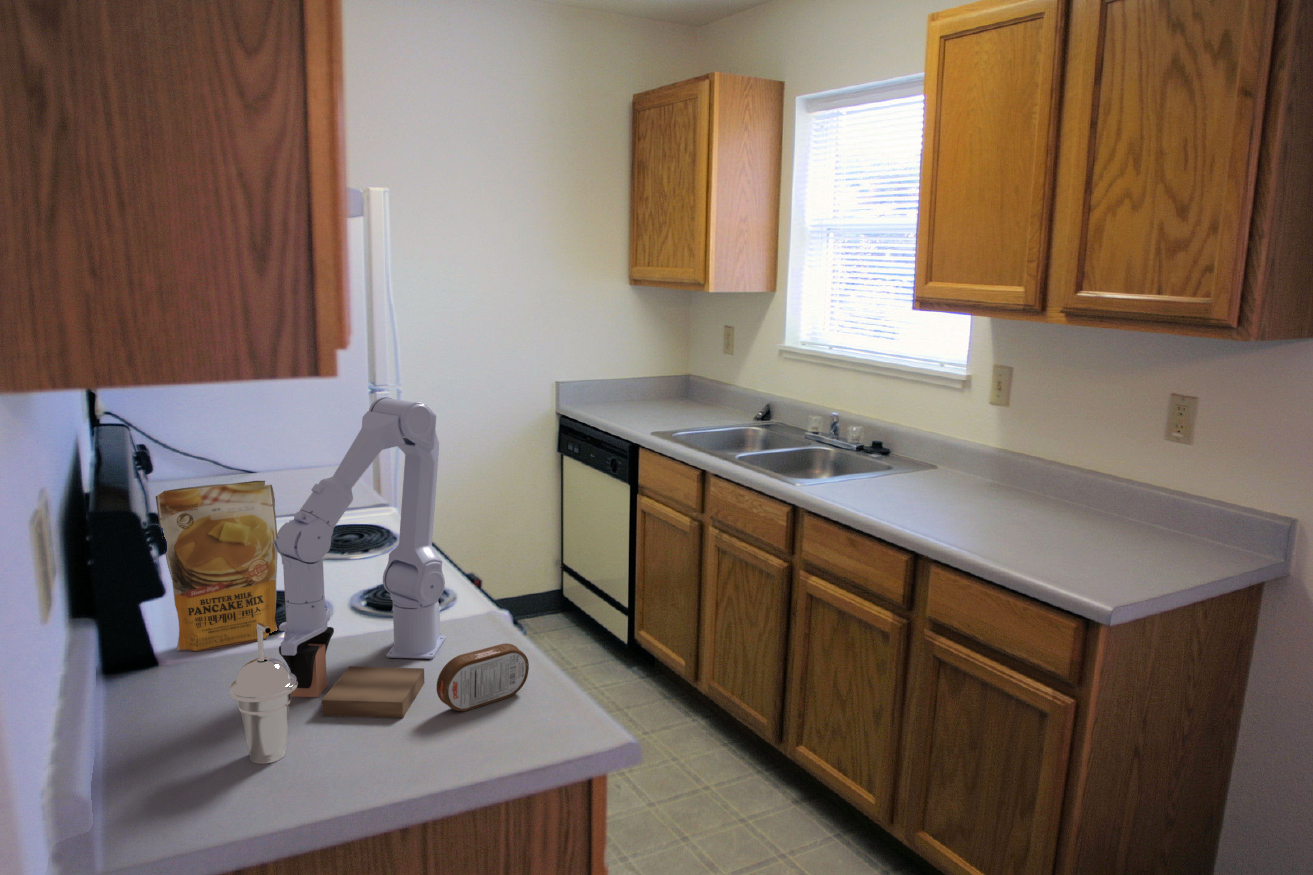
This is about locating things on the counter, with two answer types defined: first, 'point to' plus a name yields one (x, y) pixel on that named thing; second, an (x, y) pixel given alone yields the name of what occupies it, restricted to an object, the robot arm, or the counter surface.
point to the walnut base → (373, 692)
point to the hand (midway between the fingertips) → (309, 680)
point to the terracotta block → (315, 676)
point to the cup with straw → (264, 703)
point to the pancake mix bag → (221, 561)
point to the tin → (482, 677)
